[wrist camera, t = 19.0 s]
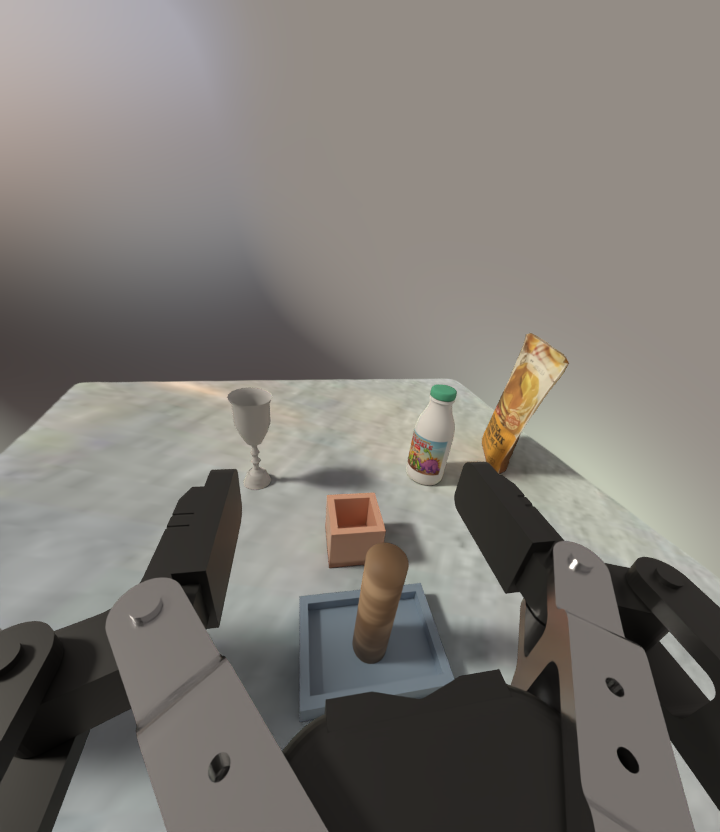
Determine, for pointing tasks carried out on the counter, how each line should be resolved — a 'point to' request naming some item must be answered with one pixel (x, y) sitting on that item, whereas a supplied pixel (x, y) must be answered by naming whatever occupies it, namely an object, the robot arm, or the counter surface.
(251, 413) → the chalice
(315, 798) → the robot arm
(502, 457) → the pancake mix bag
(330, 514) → the terracotta cup
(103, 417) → the counter surface
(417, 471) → the milk bottle
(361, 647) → the walnut dowel
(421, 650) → the slate tray
